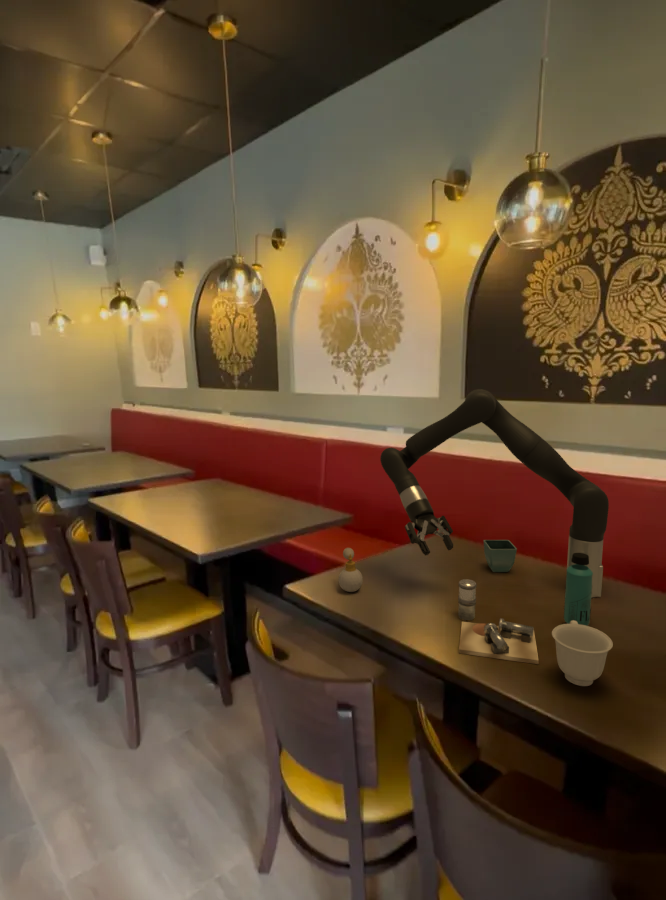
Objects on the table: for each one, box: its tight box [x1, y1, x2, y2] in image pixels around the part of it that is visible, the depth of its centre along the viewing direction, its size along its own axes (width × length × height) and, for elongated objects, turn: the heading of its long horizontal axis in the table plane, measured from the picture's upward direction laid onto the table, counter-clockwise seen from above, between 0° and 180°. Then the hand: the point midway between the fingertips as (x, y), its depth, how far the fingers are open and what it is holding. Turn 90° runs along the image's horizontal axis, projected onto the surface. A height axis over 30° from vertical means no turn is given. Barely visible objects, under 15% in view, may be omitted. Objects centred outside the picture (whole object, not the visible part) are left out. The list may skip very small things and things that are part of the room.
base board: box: [458, 621, 539, 665], centre depth 130 cm, size 18×14×1 cm
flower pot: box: [483, 539, 518, 573], centre depth 175 cm, size 9×9×9 cm
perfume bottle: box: [338, 547, 364, 593], centre depth 162 cm, size 8×10×12 cm
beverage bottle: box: [563, 553, 593, 626], centre depth 136 cm, size 6×7×20 cm
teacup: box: [551, 620, 614, 687], centre depth 116 cm, size 12×15×10 cm
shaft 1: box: [484, 622, 509, 654], centre depth 127 cm, size 8×4×4 cm, turn 3°
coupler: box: [457, 578, 477, 621], centre depth 143 cm, size 5×5×10 cm
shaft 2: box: [498, 617, 535, 643], centre depth 131 cm, size 8×4×4 cm, turn 63°
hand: (439, 551), depth 152 cm, fingers open, 8 cm apart
